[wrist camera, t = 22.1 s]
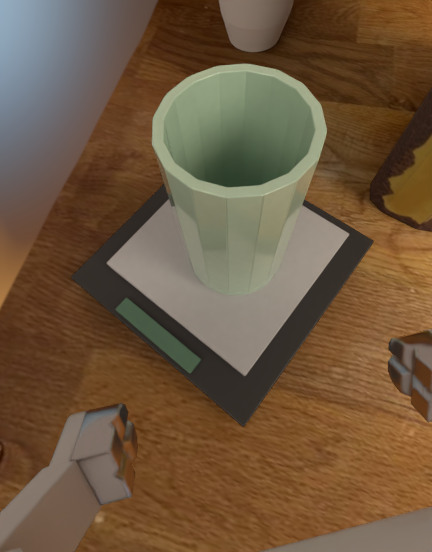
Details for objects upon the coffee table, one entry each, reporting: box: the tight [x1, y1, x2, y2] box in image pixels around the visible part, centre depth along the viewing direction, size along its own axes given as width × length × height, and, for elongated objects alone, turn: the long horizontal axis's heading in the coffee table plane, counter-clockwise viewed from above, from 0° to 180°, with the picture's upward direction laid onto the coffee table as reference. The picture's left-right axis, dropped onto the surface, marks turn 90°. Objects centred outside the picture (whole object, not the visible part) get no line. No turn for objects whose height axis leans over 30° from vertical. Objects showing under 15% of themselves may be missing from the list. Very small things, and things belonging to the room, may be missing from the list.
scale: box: [71, 184, 374, 427], centre depth 21 cm, size 14×14×3 cm
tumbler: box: [152, 64, 327, 295], centre depth 15 cm, size 6×6×10 cm
